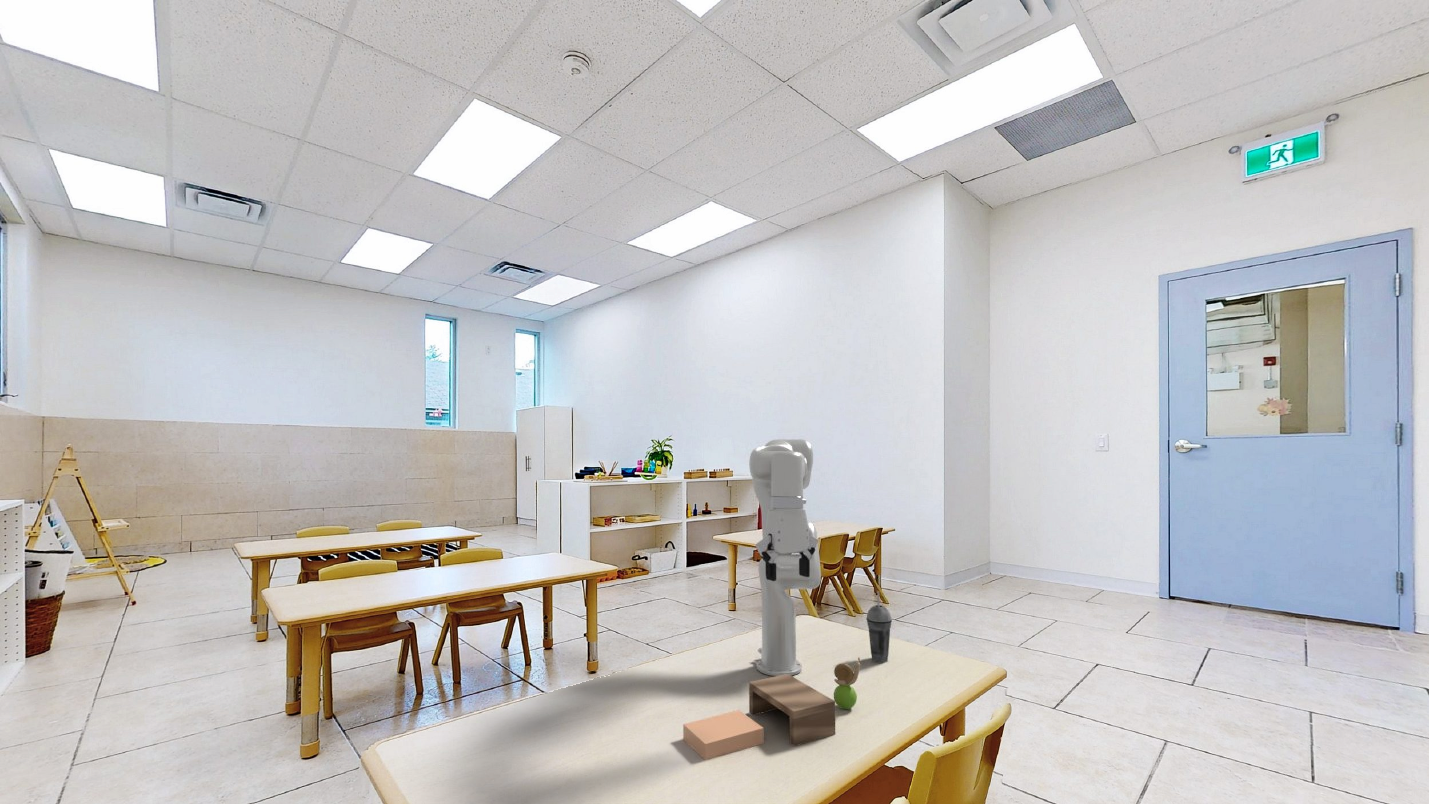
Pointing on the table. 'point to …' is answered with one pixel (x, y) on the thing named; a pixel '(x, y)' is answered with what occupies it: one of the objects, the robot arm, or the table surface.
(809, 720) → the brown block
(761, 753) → the table surface
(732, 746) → the peach tile
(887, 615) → the beverage cup
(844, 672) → the snail figurine
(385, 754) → the table surface
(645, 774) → the table surface
